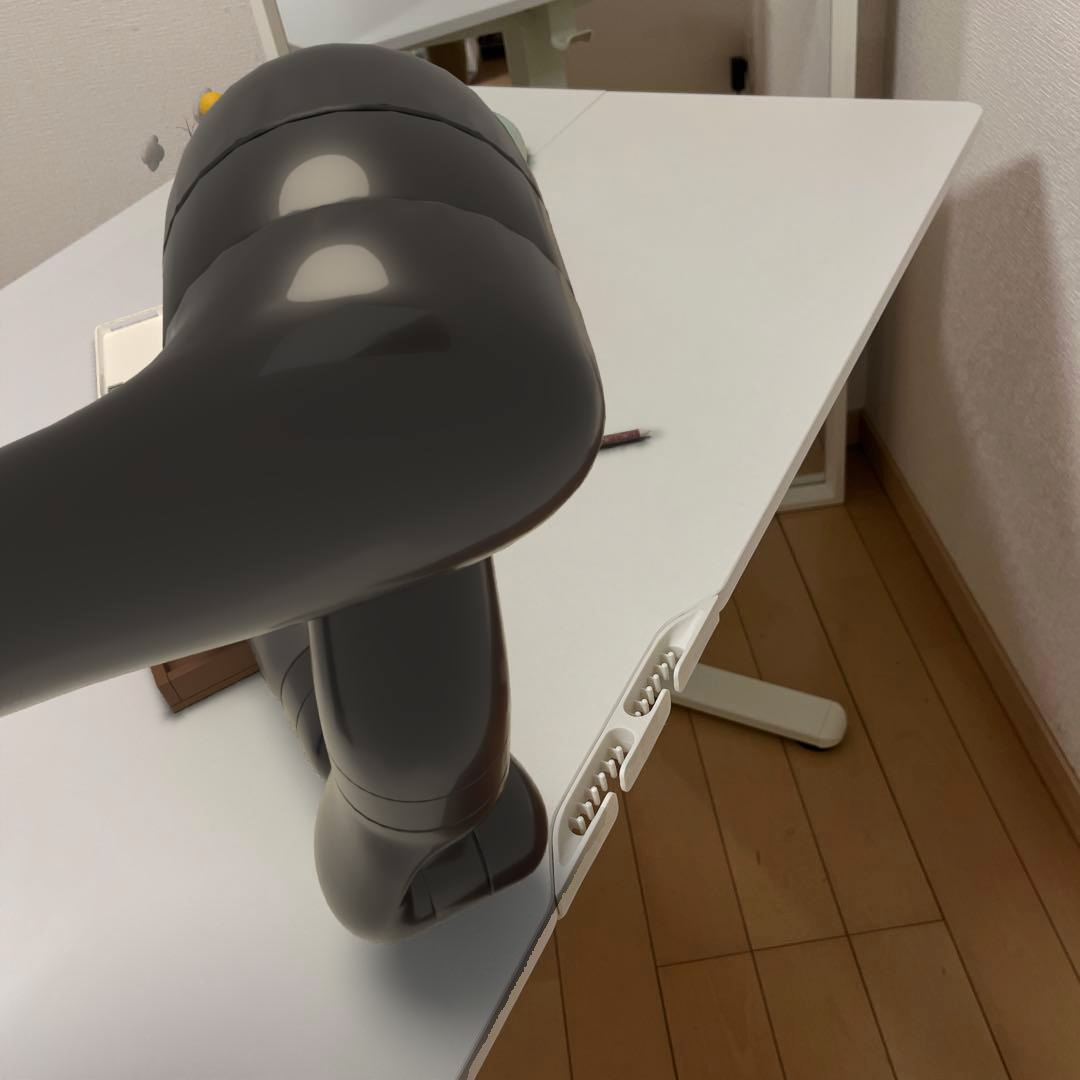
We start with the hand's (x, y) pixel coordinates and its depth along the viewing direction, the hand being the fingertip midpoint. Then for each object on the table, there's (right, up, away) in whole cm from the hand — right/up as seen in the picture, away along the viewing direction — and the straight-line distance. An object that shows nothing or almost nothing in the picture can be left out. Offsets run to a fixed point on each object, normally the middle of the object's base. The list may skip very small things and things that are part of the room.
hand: (238, 486), depth 74 cm
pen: (+23, +3, +7) cm, 24 cm away
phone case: (-17, +13, +29) cm, 36 cm away
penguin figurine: (-12, +30, +46) cm, 56 cm away
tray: (+2, -6, +3) cm, 7 cm away
